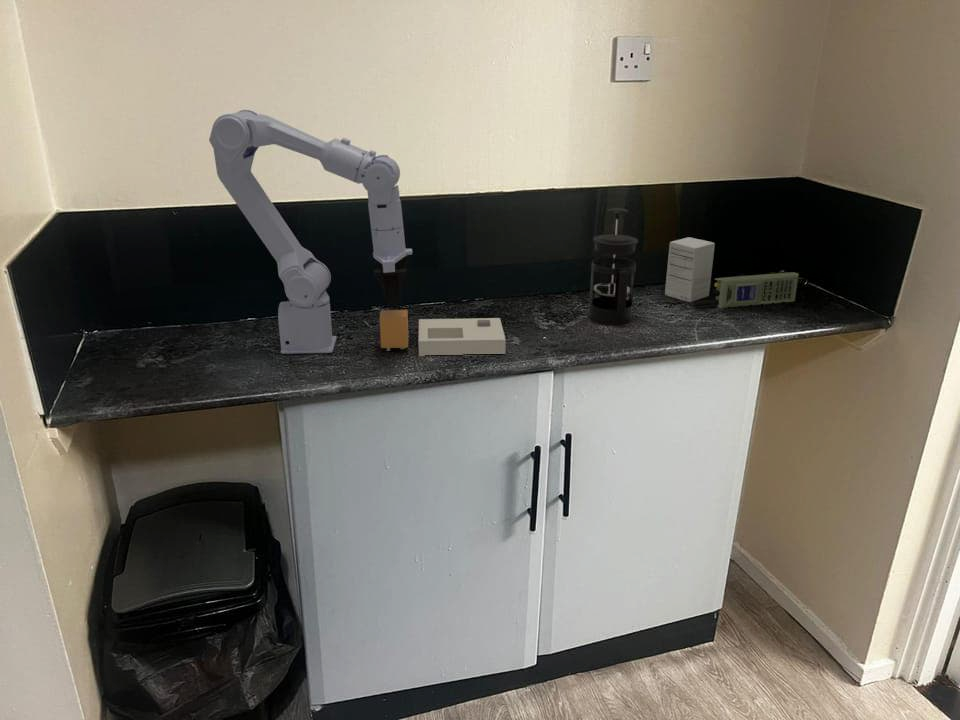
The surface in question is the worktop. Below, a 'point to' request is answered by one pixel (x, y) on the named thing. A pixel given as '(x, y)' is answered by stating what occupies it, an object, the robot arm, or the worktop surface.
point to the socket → (461, 336)
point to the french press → (612, 295)
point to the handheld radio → (753, 290)
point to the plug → (394, 329)
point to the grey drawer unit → (689, 269)
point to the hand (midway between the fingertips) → (395, 300)
